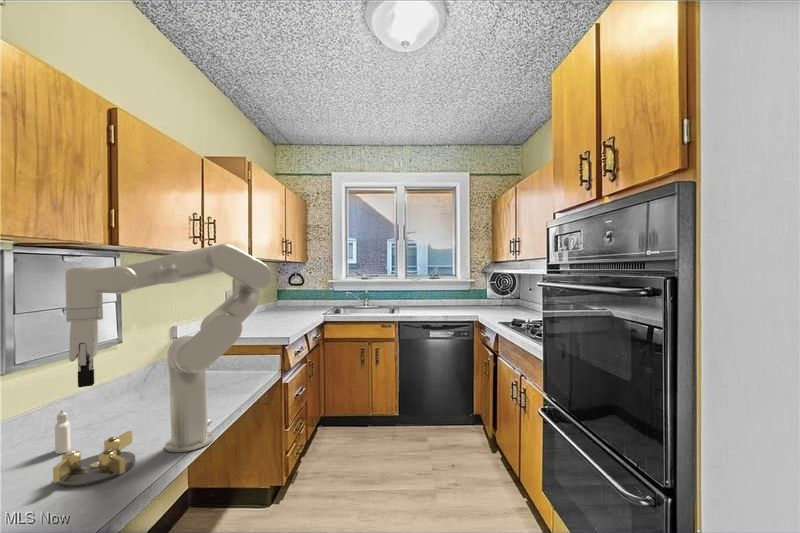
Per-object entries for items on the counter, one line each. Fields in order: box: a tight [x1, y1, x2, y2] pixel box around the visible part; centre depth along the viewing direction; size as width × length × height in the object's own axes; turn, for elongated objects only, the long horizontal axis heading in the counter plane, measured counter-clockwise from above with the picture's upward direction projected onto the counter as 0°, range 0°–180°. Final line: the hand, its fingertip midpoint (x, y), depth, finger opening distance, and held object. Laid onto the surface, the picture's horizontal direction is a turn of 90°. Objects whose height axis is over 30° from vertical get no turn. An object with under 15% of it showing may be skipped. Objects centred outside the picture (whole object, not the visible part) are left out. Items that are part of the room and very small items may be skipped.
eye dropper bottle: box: [54, 408, 72, 455], centre depth 117 cm, size 4×6×12 cm
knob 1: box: [52, 449, 82, 484], centre depth 99 cm, size 9×4×5 cm, turn 16°
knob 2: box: [103, 430, 133, 455], centre depth 112 cm, size 9×4×5 cm, turn 0°
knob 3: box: [98, 449, 126, 475], centre depth 100 cm, size 9×4×5 cm, turn 60°
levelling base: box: [56, 451, 136, 488], centre depth 104 cm, size 16×16×2 cm
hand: (86, 385), depth 104 cm, fingers closed
